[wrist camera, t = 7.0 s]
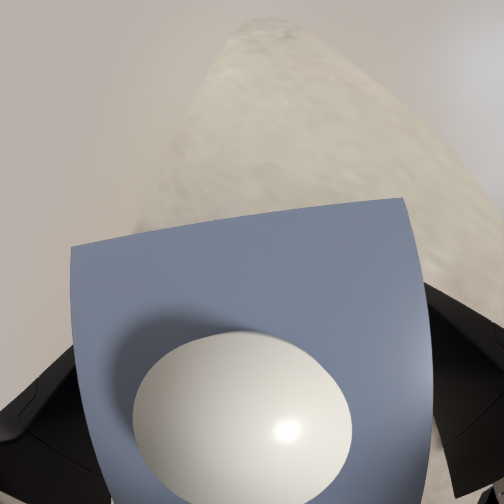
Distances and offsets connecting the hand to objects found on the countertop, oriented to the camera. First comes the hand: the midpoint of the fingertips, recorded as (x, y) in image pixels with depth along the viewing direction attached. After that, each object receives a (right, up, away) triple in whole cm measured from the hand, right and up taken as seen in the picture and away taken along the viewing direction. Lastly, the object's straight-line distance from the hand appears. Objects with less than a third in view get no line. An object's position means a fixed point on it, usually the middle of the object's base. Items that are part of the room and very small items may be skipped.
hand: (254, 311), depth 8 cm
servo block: (+1, -3, +7) cm, 8 cm away
